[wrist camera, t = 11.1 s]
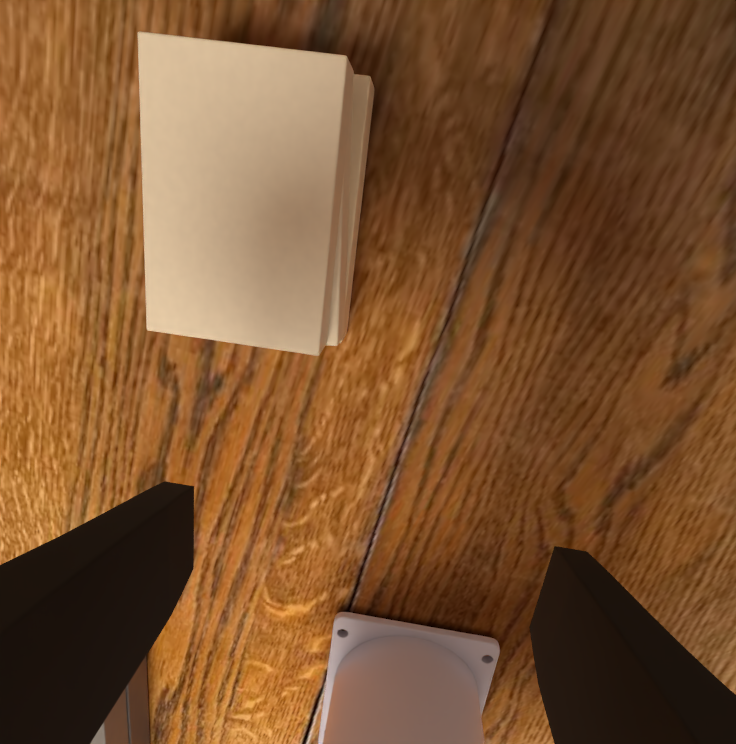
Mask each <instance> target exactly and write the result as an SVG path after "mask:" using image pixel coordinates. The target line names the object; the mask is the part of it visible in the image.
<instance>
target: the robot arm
mask: <svg viewBox="0 0 736 744" xmlns="http://www.w3.org/2000/svg"><path fill="white" fill-rule="evenodd" d="M193 549H194V486H188V485H182V484H176V483H170V482H163V483H161V484H159V485H156V486H154V487H152V488H150V489H148V490H146V491H144V492H143V493H141V494H139V495H137V496H135V497H133V498H131V499H129V500H128V501H126V502H124V503H122V504H120V505H118V506H116V507H115V508H113V509H111V510H109V511H107V512H105V513H103V514H101V515H100V516H98V517H96V518H94V519H92V520H90V521H88V522H86V523H84V524H82V525H81V526H79V527H77V528H75V529H73V530H71V531H69V532H67V533H65V534H63V535H62V536H60V537H58V538H55V539H53V540H51V541H49V542H47V543H45V544H43V545H41V546H39V547H37V548H35V549H33V550H31V551H29V552H27V553H25V554H22V555H20V556H18V557H16V558H14V559H12V560H10V561H8V562H6V563H4V564H2V565H0V744H90V743H91V742H92V740H93V738H94V737H95V735H96V734H97V732H98V730H99V729H100V727H101V726H102V724H103V723H104V721H105V719H106V718H107V716H108V715H109V713H110V712H111V710H112V708H113V707H114V705H115V704H116V702H117V701H118V699H119V697H120V696H121V694H122V693H123V691H124V690H125V688H126V686H127V685H128V683H129V682H130V680H131V679H132V677H133V675H134V674H135V672H136V671H137V669H138V668H139V666H140V664H141V663H142V661H143V660H144V658H145V657H146V655H147V653H148V652H149V650H150V649H151V647H152V645H153V644H154V642H155V641H156V639H157V637H158V636H159V634H160V633H161V631H162V629H163V628H164V626H165V625H166V623H167V621H168V620H169V618H170V616H171V614H172V612H173V610H174V608H175V606H176V604H177V602H178V600H179V598H180V596H181V594H182V592H183V590H184V588H185V585H186V583H187V581H188V579H189V577H190V575H191V573H192V570H193ZM340 629H344V630H346V631H342V630H340ZM530 633H531V640H532V647H533V654H534V661H535V666H536V672H537V678H538V684H539V688H540V691H541V695H542V699H543V703H544V706H545V710H546V714H547V717H548V721H549V725H550V728H551V732H552V736H553V739H554V743H555V744H736V695H735V694H734V693H733V692H732V691H730V690H729V689H728V688H727V687H726V686H725V685H724V684H723V683H722V682H721V681H719V680H718V679H717V678H716V677H715V676H714V675H713V674H712V673H711V672H710V671H708V670H707V669H706V668H705V667H704V666H703V665H702V664H701V663H700V662H699V661H698V660H697V659H696V658H695V657H694V656H693V655H692V654H690V653H689V652H688V651H687V650H686V649H685V648H684V647H683V646H682V645H681V644H680V643H679V642H678V641H677V640H676V639H675V638H674V637H673V636H672V635H671V634H670V633H669V632H668V631H667V630H666V629H665V628H664V627H663V626H662V625H661V624H660V623H659V622H658V621H657V620H656V619H655V618H654V617H653V616H652V615H651V614H650V613H649V612H648V611H647V610H646V609H645V608H644V607H643V606H642V605H641V604H640V603H639V602H638V601H637V600H636V599H635V598H634V597H633V596H632V595H631V594H630V593H629V592H628V591H627V590H626V589H625V588H624V587H623V586H622V585H621V584H620V583H619V582H618V581H617V580H616V579H615V578H614V577H613V576H612V575H611V574H610V573H609V572H608V571H607V570H606V569H605V568H604V567H603V566H602V565H601V564H600V563H599V562H597V561H596V560H595V559H594V558H593V557H592V556H591V555H590V554H589V553H588V552H586V551H580V550H574V549H568V548H562V547H556V546H555V547H554V550H553V553H552V557H551V560H550V563H549V566H548V570H547V573H546V576H545V579H544V582H543V586H542V589H541V592H540V595H539V599H538V602H537V605H536V608H535V611H534V615H533V618H532V621H531V624H530ZM499 654H500V647H499V643H498V641H497V640H495V639H494V638H491V637H486V636H480V635H474V634H469V633H463V632H457V631H452V630H446V629H440V628H435V627H429V626H423V625H418V624H412V623H406V622H401V621H395V620H389V619H384V618H378V617H372V616H367V615H361V614H355V613H350V612H340V613H338V614H337V615H336V616H335V619H334V624H333V632H332V640H331V647H330V655H329V662H328V670H327V678H326V685H325V693H324V700H323V708H322V716H321V723H320V731H319V739H318V744H485V742H484V734H483V726H482V718H481V716H482V712H483V709H484V706H485V702H486V699H487V695H488V692H489V688H490V685H491V681H492V678H493V675H494V671H495V668H496V664H497V661H498V657H499ZM485 655H489V656H485Z"/></svg>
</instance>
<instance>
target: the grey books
mask: <svg viewBox="0 0 736 744" xmlns="http://www.w3.org/2000/svg"><path fill="white" fill-rule="evenodd" d="M90 744H150V734H149V709H148V684H147V659H146V657H145V658H144V660H143V661H142V663H141V664H140V666H139V668H138V669H137V671H136V672H135V674H134V675H133V677H132V679H131V680H130V682H129V683H128V685H127V686H126V688H125V690H124V691H123V693H122V694H121V696H120V697H119V699H118V701H117V702H116V704H115V705H114V707H113V708H112V710H111V712H110V713H109V715H108V716H107V718H106V719H105V721H104V723H103V724H102V726H101V727H100V729H99V730H98V732H97V734H96V735H95V737H94V738H93V740H92V742H91V743H90Z"/></svg>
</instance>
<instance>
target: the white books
mask: <svg viewBox="0 0 736 744" xmlns="http://www.w3.org/2000/svg"><path fill="white" fill-rule="evenodd" d="M374 90H375V89H374V85H373V82H372V80H371V77H370V76H367V75H359V74H354V76H353V86H352V96H351V106H350V116H349V126H348V136H347V146H346V156H345V166H344V176H343V186H342V196H341V206H340V216H339V226H338V236H337V246H336V256H335V266H334V276H333V286H332V296H331V307H330V317H329V327H328V337H327V344H326V345H330V346H337V345H338V344H339V343H341V342H342V340H343V339H344V337H345V335H346V333H347V328H348V319H349V310H350V302H351V293H352V284H353V275H354V266H355V258H356V249H357V240H358V231H359V222H360V213H361V205H362V196H363V187H364V178H365V169H366V161H367V152H368V143H369V134H370V125H371V117H372V108H373V99H374Z"/></svg>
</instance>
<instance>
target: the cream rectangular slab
mask: <svg viewBox="0 0 736 744" xmlns="http://www.w3.org/2000/svg"><path fill="white" fill-rule="evenodd" d="M138 60H139V93H140V126H141V158H142V191H143V224H144V256H145V289H146V321H147V330H149V331H155V332H162V333H169V334H176V335H182V336H189V337H196V338H202V339H209V340H216V341H222V342H229V343H236V344H243V345H249V346H256V347H263V348H269V349H276V350H283V351H289V352H296V353H303V354H310V355H316V356H318V355H319V354H320V353H321V351H322V350H323V348H324V347H325V345H326V344H327V337H328V327H329V317H330V307H331V296H332V286H333V276H334V266H335V256H336V246H337V236H338V226H339V216H340V206H341V196H342V186H343V176H344V166H345V156H346V146H347V136H348V126H349V116H350V106H351V96H352V86H353V76H354V71H353V69H352V66H351V64H350V62H349V60H348V57H347V56H346V55H339V54H330V53H322V52H313V51H304V50H296V49H287V48H279V47H270V46H261V45H253V44H244V43H236V42H227V41H218V40H210V39H201V38H193V37H184V36H175V35H167V34H158V33H150V32H141V31H140V32H138Z"/></svg>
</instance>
